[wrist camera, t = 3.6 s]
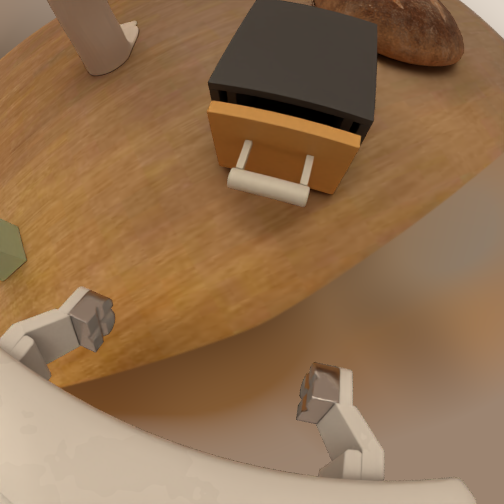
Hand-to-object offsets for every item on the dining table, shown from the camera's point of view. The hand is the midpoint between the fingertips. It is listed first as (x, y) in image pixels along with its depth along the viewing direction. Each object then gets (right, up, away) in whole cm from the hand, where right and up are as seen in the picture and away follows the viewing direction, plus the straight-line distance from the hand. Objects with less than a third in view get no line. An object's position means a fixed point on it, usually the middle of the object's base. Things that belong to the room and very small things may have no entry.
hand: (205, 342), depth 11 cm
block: (-28, +3, +18) cm, 33 cm away
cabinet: (+7, +19, +21) cm, 29 cm away
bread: (+25, +42, +26) cm, 55 cm away
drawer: (+5, +15, +19) cm, 24 cm away
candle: (-20, +35, +25) cm, 47 cm away
